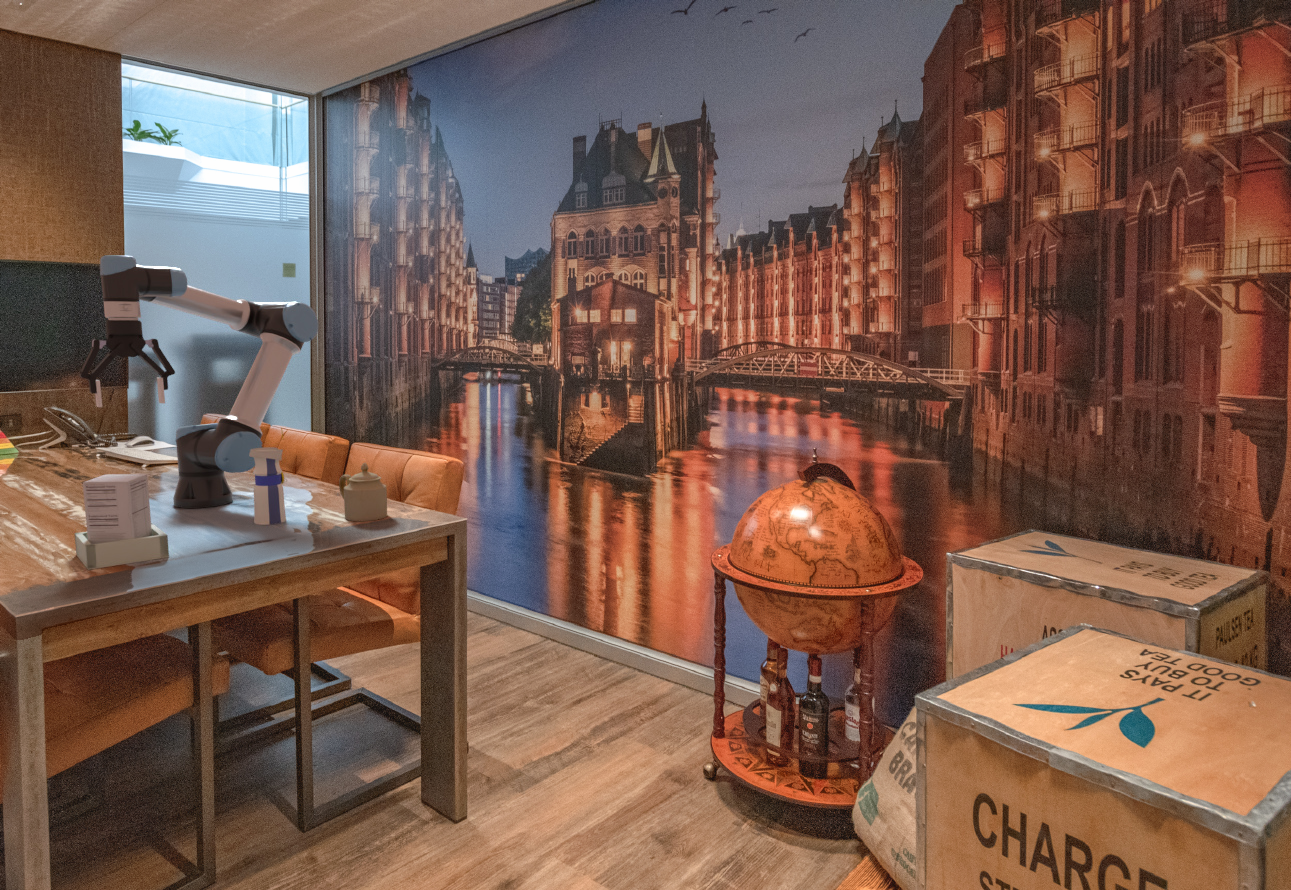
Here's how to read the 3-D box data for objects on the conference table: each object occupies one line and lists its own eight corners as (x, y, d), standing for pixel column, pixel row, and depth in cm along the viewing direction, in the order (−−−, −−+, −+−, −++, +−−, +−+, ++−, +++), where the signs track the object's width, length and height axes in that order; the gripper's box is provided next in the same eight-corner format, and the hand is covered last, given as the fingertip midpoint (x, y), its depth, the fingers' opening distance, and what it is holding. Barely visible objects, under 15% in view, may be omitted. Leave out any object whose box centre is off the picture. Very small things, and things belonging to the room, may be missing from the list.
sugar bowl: (323, 520, 215) (321, 465, 213) (343, 511, 226) (340, 458, 224) (376, 522, 214) (374, 466, 212) (394, 513, 225) (392, 460, 223)
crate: (153, 543, 190) (151, 523, 189) (169, 556, 179) (167, 535, 178) (76, 555, 180) (74, 533, 179) (88, 569, 169) (86, 546, 168)
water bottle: (280, 516, 220) (275, 425, 216) (292, 521, 214) (287, 427, 210) (248, 520, 214) (243, 427, 210) (260, 526, 208) (254, 430, 204)
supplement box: (110, 546, 183) (104, 473, 181) (154, 545, 184) (148, 473, 182) (87, 558, 174) (81, 481, 172) (133, 557, 175) (127, 480, 173)
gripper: (65, 319, 188) (74, 409, 191) (183, 319, 205) (190, 402, 208) (59, 319, 193) (68, 407, 196) (175, 319, 210) (182, 400, 214)
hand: (131, 405), depth 202 cm, fingers open, 13 cm apart
